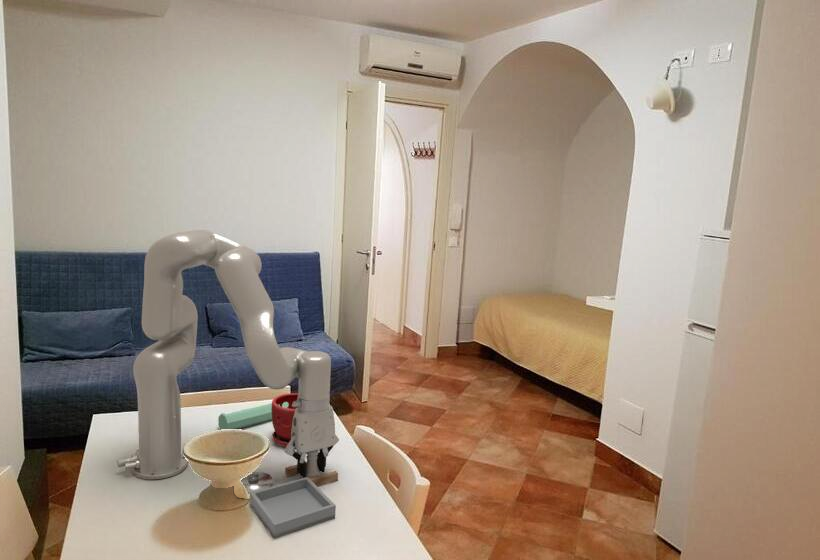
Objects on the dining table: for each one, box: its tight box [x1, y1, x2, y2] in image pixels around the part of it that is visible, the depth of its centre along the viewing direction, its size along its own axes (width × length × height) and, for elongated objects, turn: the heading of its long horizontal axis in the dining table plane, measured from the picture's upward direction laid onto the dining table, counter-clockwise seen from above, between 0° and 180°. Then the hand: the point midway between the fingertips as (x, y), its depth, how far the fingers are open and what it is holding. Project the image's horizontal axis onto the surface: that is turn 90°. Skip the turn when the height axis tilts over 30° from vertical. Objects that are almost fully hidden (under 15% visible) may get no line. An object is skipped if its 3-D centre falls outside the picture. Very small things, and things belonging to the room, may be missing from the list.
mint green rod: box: [217, 402, 294, 431], centre depth 167 cm, size 6×6×25 cm
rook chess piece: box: [305, 450, 321, 478], centre depth 136 cm, size 4×4×8 cm
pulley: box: [241, 471, 274, 494], centre depth 130 cm, size 9×9×3 cm
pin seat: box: [284, 461, 339, 488], centre depth 136 cm, size 10×9×2 cm
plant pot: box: [271, 392, 298, 448], centre depth 155 cm, size 13×13×12 cm
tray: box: [249, 477, 336, 539], centre depth 122 cm, size 14×14×3 cm
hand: (311, 472), depth 136 cm, fingers open, 4 cm apart
